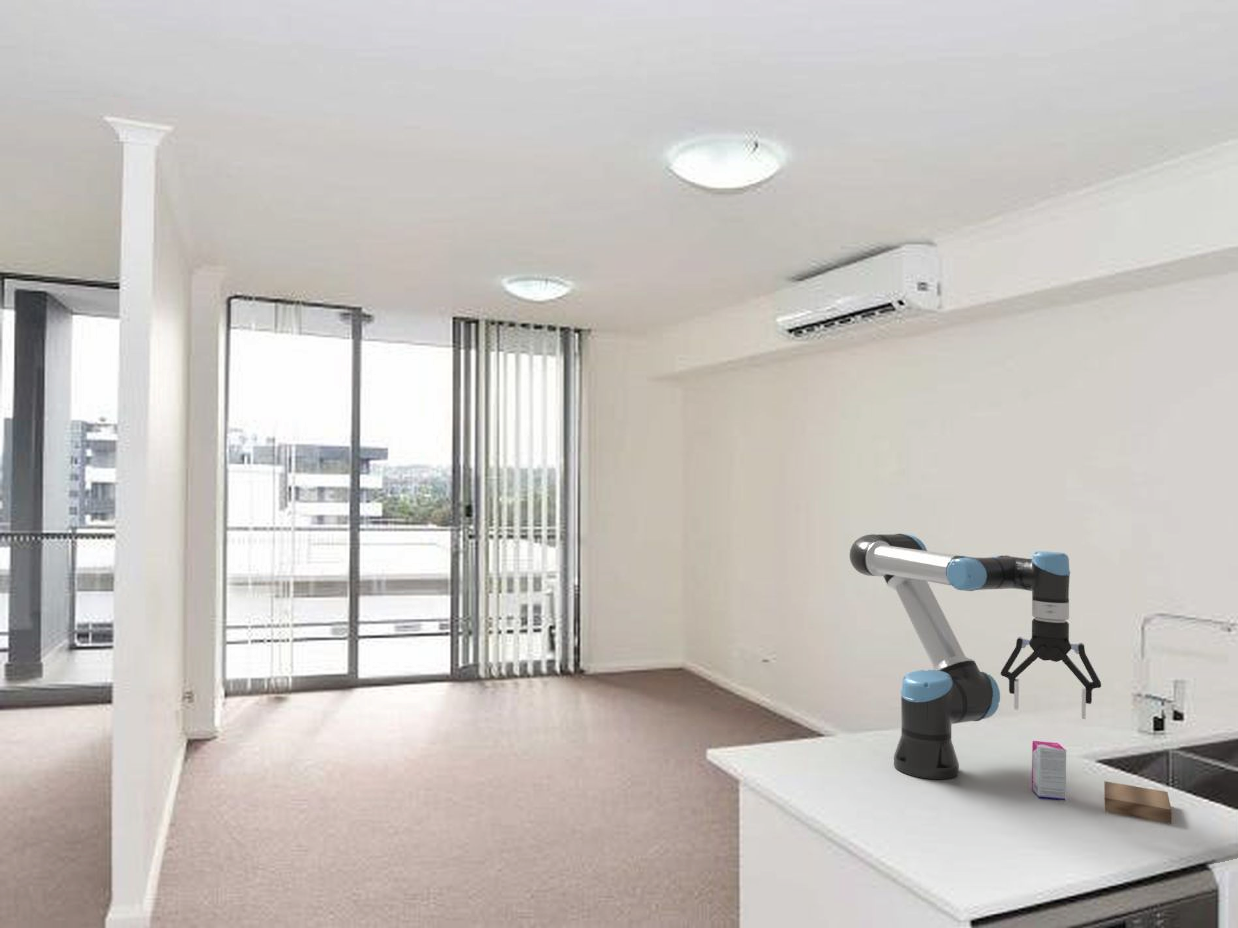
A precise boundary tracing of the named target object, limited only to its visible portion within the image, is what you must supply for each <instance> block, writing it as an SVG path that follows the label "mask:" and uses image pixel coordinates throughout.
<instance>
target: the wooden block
mask: <svg viewBox="0 0 1238 928" xmlns="http://www.w3.org/2000/svg"><path fill="white" fill-rule="evenodd" d="M1103 792H1104V795H1103V796H1104V812H1105V813H1109V814H1115V815H1120V816H1125V817H1132V818H1136V819H1137V818H1138V819H1142V820H1147V821H1152V822H1153V821H1154V822H1158V823H1164V824H1168V825H1172V823H1173V822H1172V820H1173V819H1172V812H1173V811H1172V810H1173V809H1172V806H1171V802H1170V797H1169V793H1168V791H1165V790H1159V789H1152V788H1148V787H1147V788H1146V787H1141V786H1136V785H1128V784H1123V783H1117V782H1111V781H1107V780H1106V781H1105V780H1104V790H1103Z"/></svg>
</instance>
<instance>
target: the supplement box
mask: <svg viewBox="0 0 1238 928" xmlns="http://www.w3.org/2000/svg"><path fill="white" fill-rule="evenodd" d="M1031 747H1032V749H1031V753H1032V754H1031V787H1030V788H1031V792H1033V794H1034V795H1035V796H1036V797H1037V798H1038V799H1039V800H1050V801H1051V800H1052V801H1061V802H1065V801H1066V797H1067V794H1066V791H1067V790H1066V787H1067V786H1066V784H1067V781H1066V780H1067V750H1066V748H1064V747H1063V745H1061V744H1060V743H1058V742H1052V741H1051V742H1050V741H1049V742H1048V741H1041V740H1040V741H1039V740H1038V741H1037V740H1032V746H1031Z"/></svg>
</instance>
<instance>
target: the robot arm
mask: <svg viewBox="0 0 1238 928" xmlns="http://www.w3.org/2000/svg"><path fill="white" fill-rule="evenodd" d="M849 560H850V563H851V565H852V567H853V568H854V569H855V571H857V572H858V573H860V574H862V575H863V576H868V577H883V578H884V581H885V583H886V585H887V587H888V588H890V589H892V590H895V591H896V593H897V595H898V597H899V600H900V601H901V603H902V605H903V608H904V609H905V611H906V613H907V615H908V617H909V620H910V622H911V624H912V626H913V628H914V630H915V632H916V635H917V636H918V639H919V641H920V643H921V644H922V645H921V646H922V647H923V649H924V652H925V653H926V655H927V658H928V659H929V662H930V664H931V666H932V668H933V669H928V670H925V669H921V670H919V669H918V670H915V671H911V672H909V673H906V675H904V676H903V677H902V682H901V688H900V689H901V690H900V697H901V698H900V699H901V702H900V704H901V706H900V707H901V708H900V709H901V711H900V712H901V713H900V714H901V731H900V733H901V735H900V738H899V741H898V742H897V743H898V744H897V746H896V749H895V752H894V755H893V766H894V768H895V769H896V770H897V771H899V772H901V773H904V774H907V775H909V776H912V777H916V778H922V779H929V780H948V779H953V778H957V777H958V776H959V774H960V763H959V761H958V757H957V753H956V751H955V748H954V745H953V740H952V728H953V727H952V724H953V725H954V724H960V723H962V724H963V723H968V722H979V721H981V720H986V719H989V718H990V717H992V716H993V715H995V713H996V712H997V710H998V709H999V703H1000V702H1001V693H1000V692H1001V691H1000V688H999V685H998V682H997V681H996V680H995V679H994V677H993V676H992V675H991V674H988V673H987V672H985V671H980V669H979V667H978V665H977V663H976V661H975V659H972V658H969V657H967V656H966V655H965V653H964V651H963V648H962V647H961V645H960V643H959V641H958V638H957V637H956V635H955V633H954V631H953V630H952V627H951V625H950V623H949V621H948V619H947V618H946V616H945V614H944V612H943V609H942V607H941V606H940V604H939V601H938V599H937V598H936V596H935V594H934V592H933V590H932V587H931V586H930V584H929V582H930V583H935V584H936V583H937V584H940V585H947V586H952V587H953V588H954V589H956V590H958V591H966V592H974V591H982V590H983V591H984V590H985V591H986V590H1004V589H1005V590H1006V589H1014V590H1022V591H1030V592H1031V596H1032V597H1031V616H1032V617H1033V619H1032V620H1031V638H1030V639H1027V638H1023V637H1021V636H1018V637H1017V639H1016V642H1015V643H1016V644H1015V647H1014V649H1013V651H1011V654H1010V656H1009V658H1008V659H1007V661H1006V663H1005V664H1004V666H1003V668H1002V669H1001V670H1000V671H1001V672H1000V675H1001V677H1004V678H1006V679H1008V692H1009V694H1013V700H1014V701H1013V702H1014V703H1013V707H1014V708H1013V710H1019V696H1020V695H1019V694H1020V693H1019V692H1020V687H1019V686H1020V684H1019V683H1020V680H1019V678H1017V677H1019V676H1020V675H1021V674H1022V673H1023V672H1024V671H1025V670H1026V669H1027V668H1028V667H1029V666H1030V665H1031V664H1032V663H1034V662H1035V661H1036V660H1037V659H1038V658H1039V659H1040V660H1042V661H1051V662H1053V663H1054V662H1055V663H1057V662H1059V661H1062V662H1063V664H1064V665H1065V666H1066V667H1067V668H1068V669H1069V670H1070V671H1071V673H1072V674H1073V675H1074V676H1075V677H1076V678H1077V680H1078V681H1079V682H1080V683H1081V684H1082V685H1083V686H1081V719H1082V720H1086V717H1087V716H1086V715H1087V714H1086V713H1087V712H1086V711H1087V709H1086V706H1087V704H1088V705H1091V704H1092V702H1093V701H1092V700H1093V690H1094V689H1101V687H1102V683H1101V681H1100V679H1099V677H1098V676H1099V675H1098V674H1097V672H1096V671H1095V669H1094V668H1093V666H1092V663H1091V661H1090V660H1089V657H1088V655H1087V653H1086V648H1085V644H1084V643H1083V642H1080V643H1071V642H1070V623H1069V622H1068V620H1069V619H1070V597H1069V595H1070V574H1071V570H1070V558H1069V556H1068V554H1066V553H1064V552H1058V551H1041V550H1040V551H1039V550H1038V551H1034V552H1033V553H1032V557H1031V558H1025V557H1018V556H1011V555H1007V554H1006V555H994V556H990V557H975V556H974V557H972V556H966V555H965V556H964V555H957V554H951V553H943V552H936V551H929V550H928V549H927V546H926V545H925V544H924V542H923V541H922V540H921V539H920V538H919V537H916V536H914V535H912V534H905V533H895V534H889V533H888V534H872V533H871V534H866V535H863V536H861V537H859V538H857V539H856V540H854V542H853V544H852V545H851V548H850V550H849ZM1027 646H1029V647H1030V648H1031V649H1032V652H1031V654H1030V655H1029V656H1028V657H1027V658H1025V660H1023V661H1022V662H1021V663H1020V664H1019V665H1018V666H1017V667H1016V668H1015V669H1013V671H1012V672H1011V671H1010V669H1011V668H1012V666H1013V664H1014V662H1015V661H1016V659H1017V658H1018V656H1019V654H1020V653H1021V651H1022V649H1025V648H1026V647H1027ZM1071 650H1072V651H1074V653H1075V654H1077V655H1078V656H1079V659H1080V660H1081V662H1082V663H1083V667H1085V669H1086V671H1087V673H1088V675H1089V677H1090V679H1091V681H1089V680H1088V678H1087V677H1086V676H1085V675H1084V673H1083V672H1082V671H1081V670H1080V669H1079V667H1078V666H1077V665H1076V664H1075V663H1074V662H1073V661H1072V659H1071V658H1070V657H1069V656H1068V653H1070V651H1071Z"/></svg>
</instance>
